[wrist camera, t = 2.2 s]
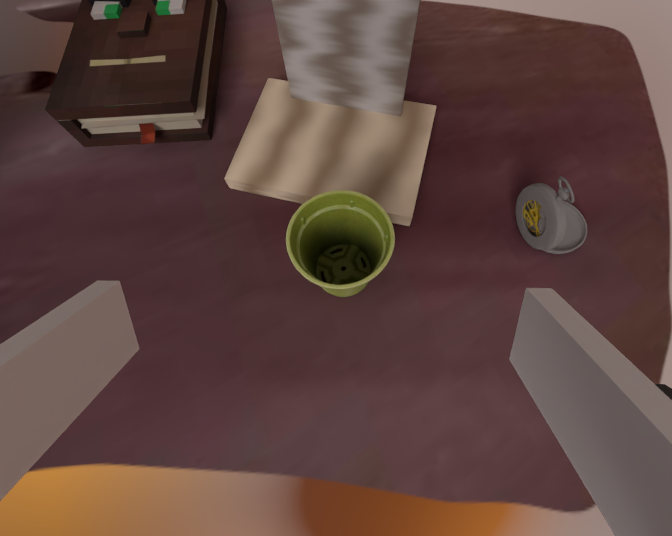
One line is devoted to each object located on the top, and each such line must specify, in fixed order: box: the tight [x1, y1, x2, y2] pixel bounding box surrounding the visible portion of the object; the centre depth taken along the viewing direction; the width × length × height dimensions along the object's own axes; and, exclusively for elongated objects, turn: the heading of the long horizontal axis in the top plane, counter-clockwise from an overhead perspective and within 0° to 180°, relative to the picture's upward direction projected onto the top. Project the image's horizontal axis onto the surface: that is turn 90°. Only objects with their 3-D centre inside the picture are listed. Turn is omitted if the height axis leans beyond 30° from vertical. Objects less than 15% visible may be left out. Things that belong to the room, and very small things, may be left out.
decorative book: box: [45, 0, 227, 147], centre depth 47 cm, size 19×8×30 cm
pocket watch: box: [515, 176, 587, 254], centre depth 35 cm, size 8×8×10 cm
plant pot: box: [286, 190, 395, 297], centre depth 35 cm, size 9×9×9 cm
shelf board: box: [224, 0, 436, 226], centre depth 37 cm, size 22×16×16 cm
